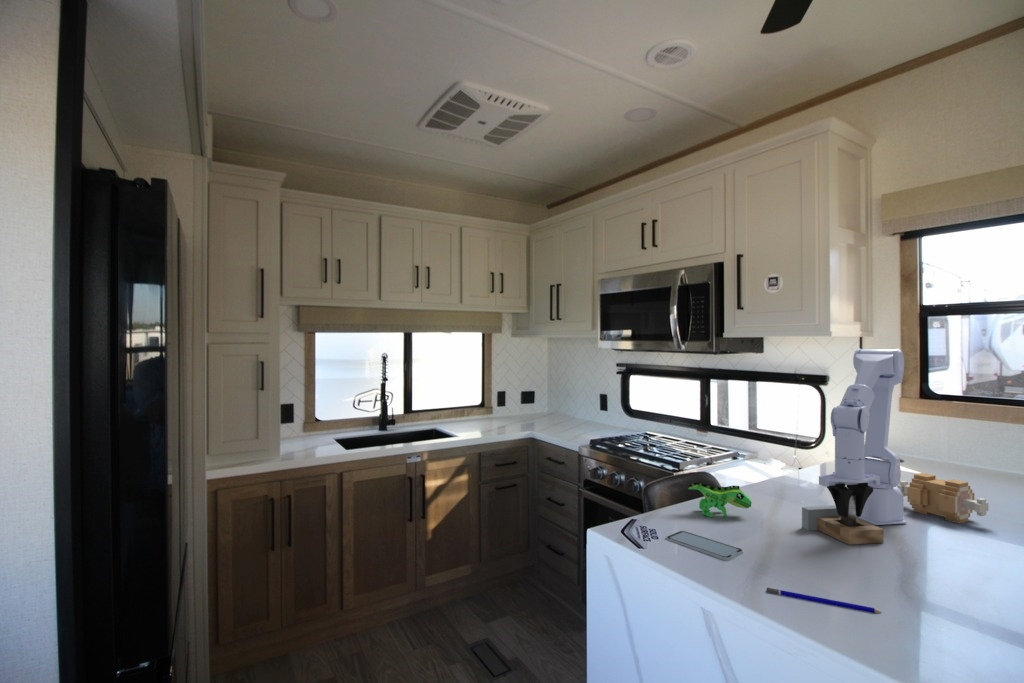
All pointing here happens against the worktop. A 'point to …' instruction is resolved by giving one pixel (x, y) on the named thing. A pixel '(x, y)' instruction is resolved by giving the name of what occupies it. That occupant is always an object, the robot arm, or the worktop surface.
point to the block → (850, 531)
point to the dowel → (850, 513)
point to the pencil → (823, 600)
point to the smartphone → (705, 545)
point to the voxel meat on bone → (942, 497)
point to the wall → (816, 515)
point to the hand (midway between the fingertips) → (849, 515)
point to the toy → (720, 498)
